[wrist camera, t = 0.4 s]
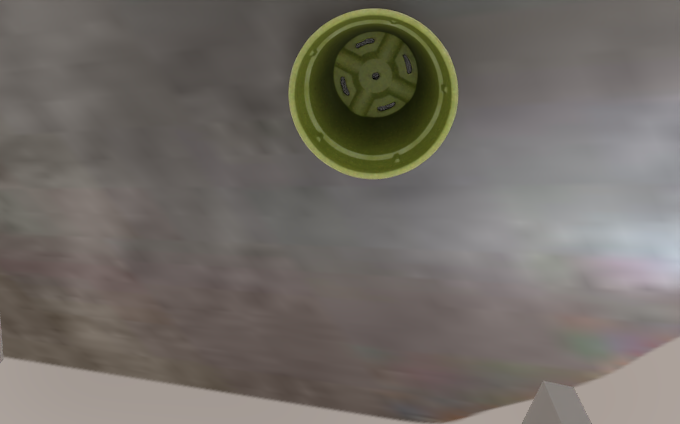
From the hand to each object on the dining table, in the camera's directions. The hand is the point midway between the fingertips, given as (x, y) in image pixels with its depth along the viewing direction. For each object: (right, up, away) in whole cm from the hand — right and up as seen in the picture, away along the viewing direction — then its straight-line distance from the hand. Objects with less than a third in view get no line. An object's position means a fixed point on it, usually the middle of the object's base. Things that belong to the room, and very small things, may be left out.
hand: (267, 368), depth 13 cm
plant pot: (+4, +14, +24) cm, 28 cm away
